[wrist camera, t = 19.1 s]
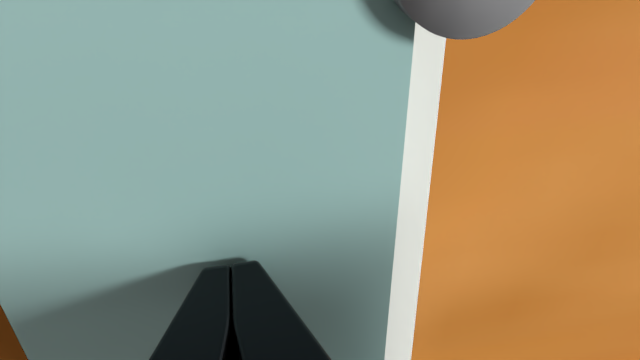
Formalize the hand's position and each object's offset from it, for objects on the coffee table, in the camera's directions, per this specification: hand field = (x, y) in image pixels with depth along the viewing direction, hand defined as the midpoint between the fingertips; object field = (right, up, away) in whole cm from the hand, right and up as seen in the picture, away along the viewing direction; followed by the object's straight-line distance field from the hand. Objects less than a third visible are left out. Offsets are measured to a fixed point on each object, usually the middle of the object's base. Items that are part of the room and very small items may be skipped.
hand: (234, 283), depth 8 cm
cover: (0, -1, +2) cm, 2 cm away
